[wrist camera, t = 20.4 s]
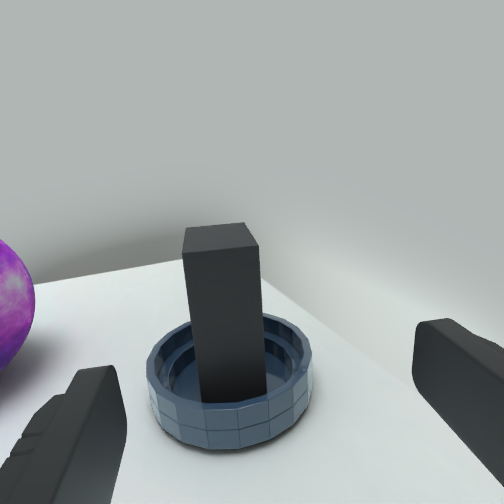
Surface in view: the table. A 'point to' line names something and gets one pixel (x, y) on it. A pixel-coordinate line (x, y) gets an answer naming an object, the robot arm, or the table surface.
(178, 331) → the bowl
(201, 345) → the dark grey upright block
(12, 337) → the decorative orb
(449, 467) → the table surface
